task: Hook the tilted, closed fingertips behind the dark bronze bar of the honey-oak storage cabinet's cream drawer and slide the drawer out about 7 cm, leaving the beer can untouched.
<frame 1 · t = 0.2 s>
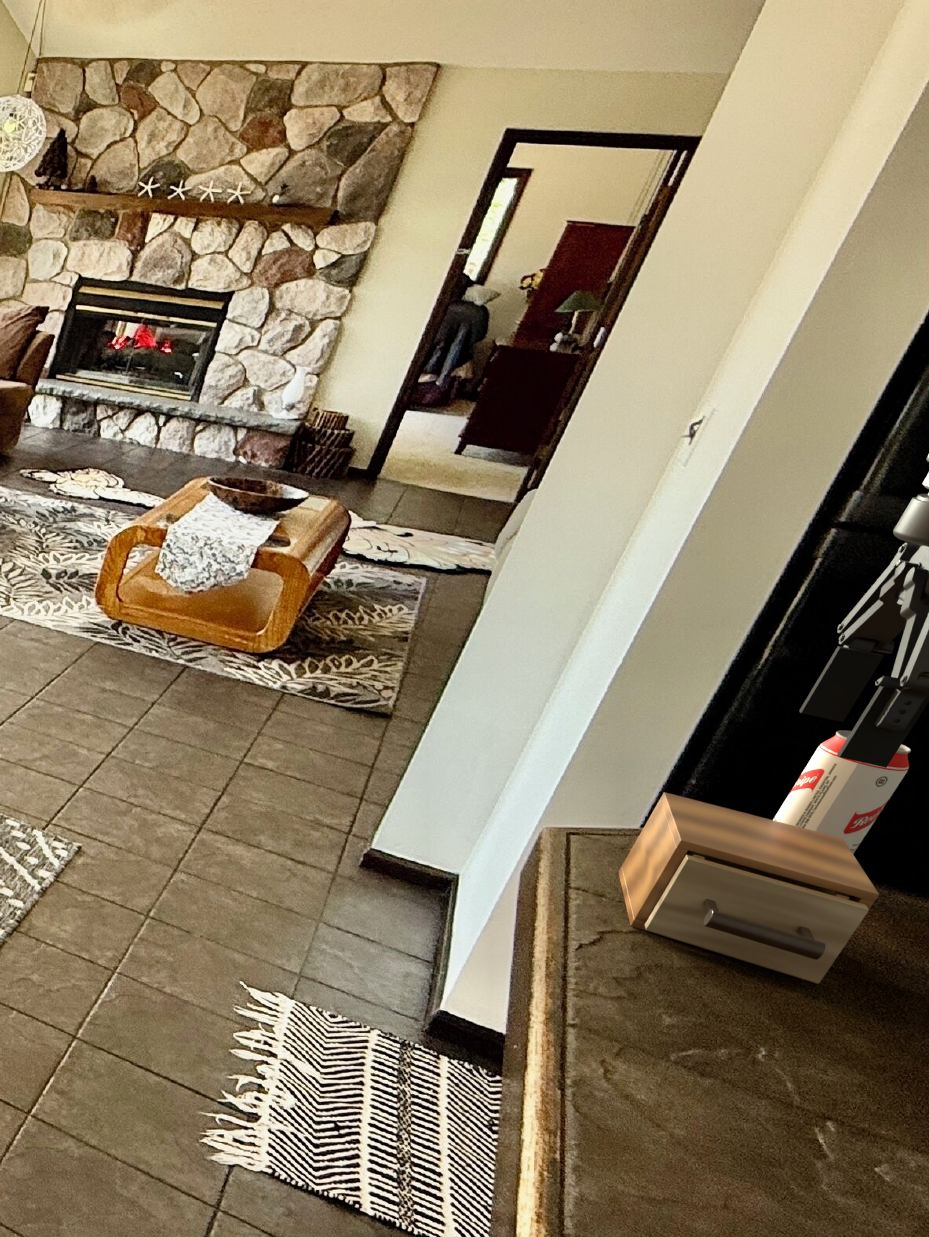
hand: (839, 738, 103), 21 cm above the countertop, tool pointing down, fingers open, 13 cm apart
beer can: (786, 876, 126), on the countertop
drawer: (744, 902, 109), point 5 cm above the countertop, slide at 1.0 cm
cabinet: (710, 924, 114), on the countertop
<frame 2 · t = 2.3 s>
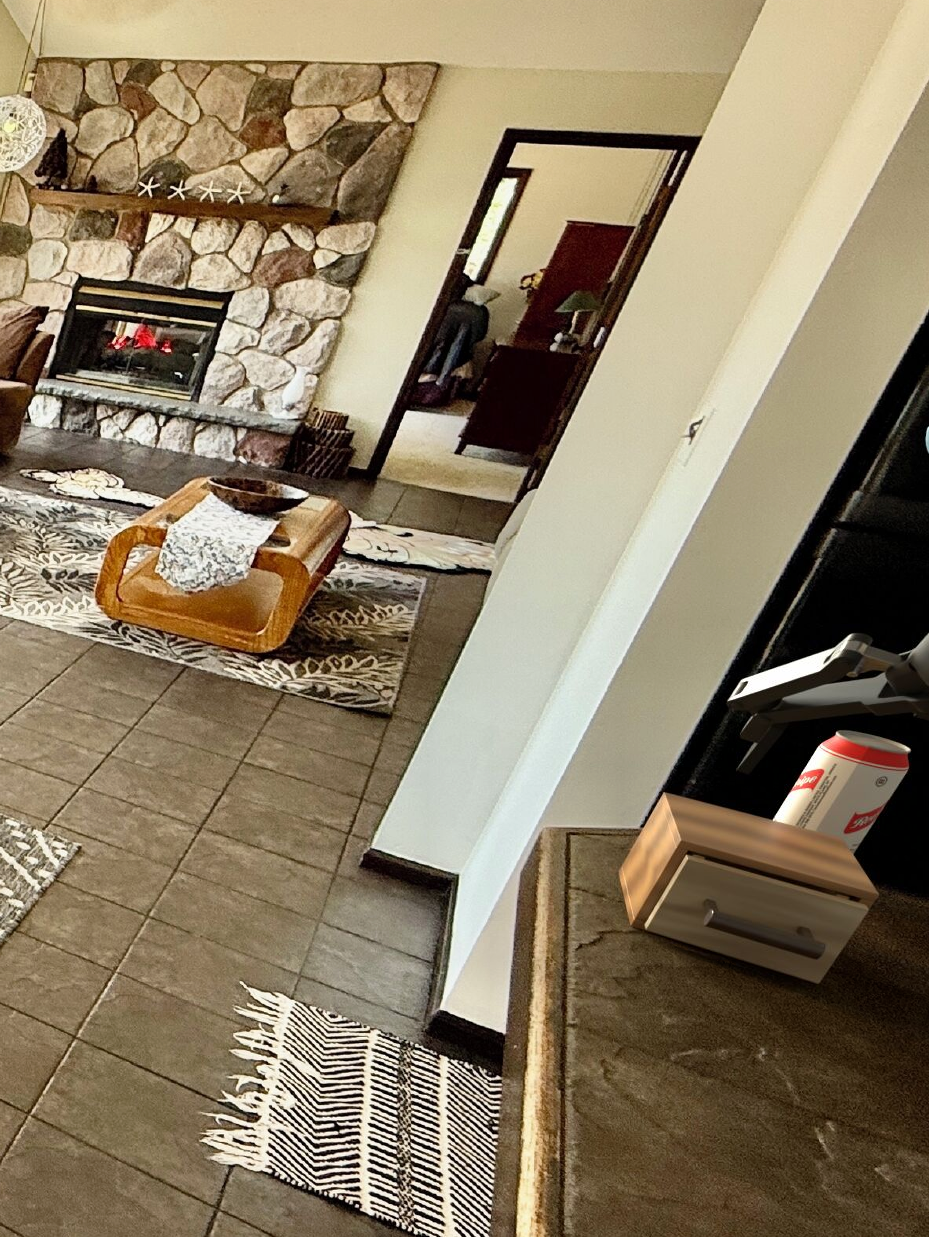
hand: (868, 798, 92), 21 cm above the countertop, tool tilted 40°, fingers open, 13 cm apart
nothing on the countertop moved.
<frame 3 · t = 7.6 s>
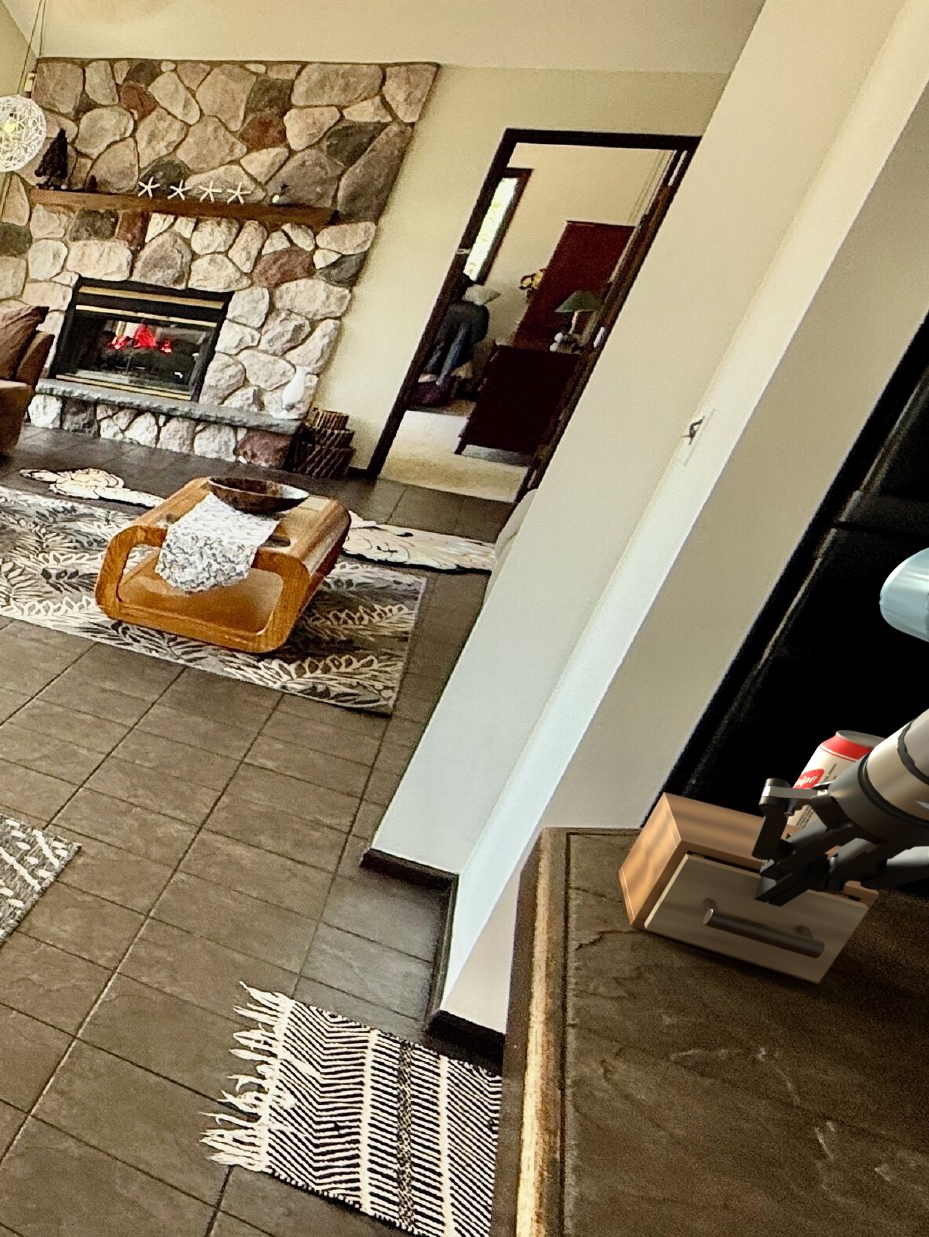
hand: (771, 890, 104), 8 cm above the countertop, tool tilted 45°, fingers closed
drawer: (744, 901, 109), point 5 cm above the countertop, slide at 0.8 cm, touching gripper
everything else where it was.
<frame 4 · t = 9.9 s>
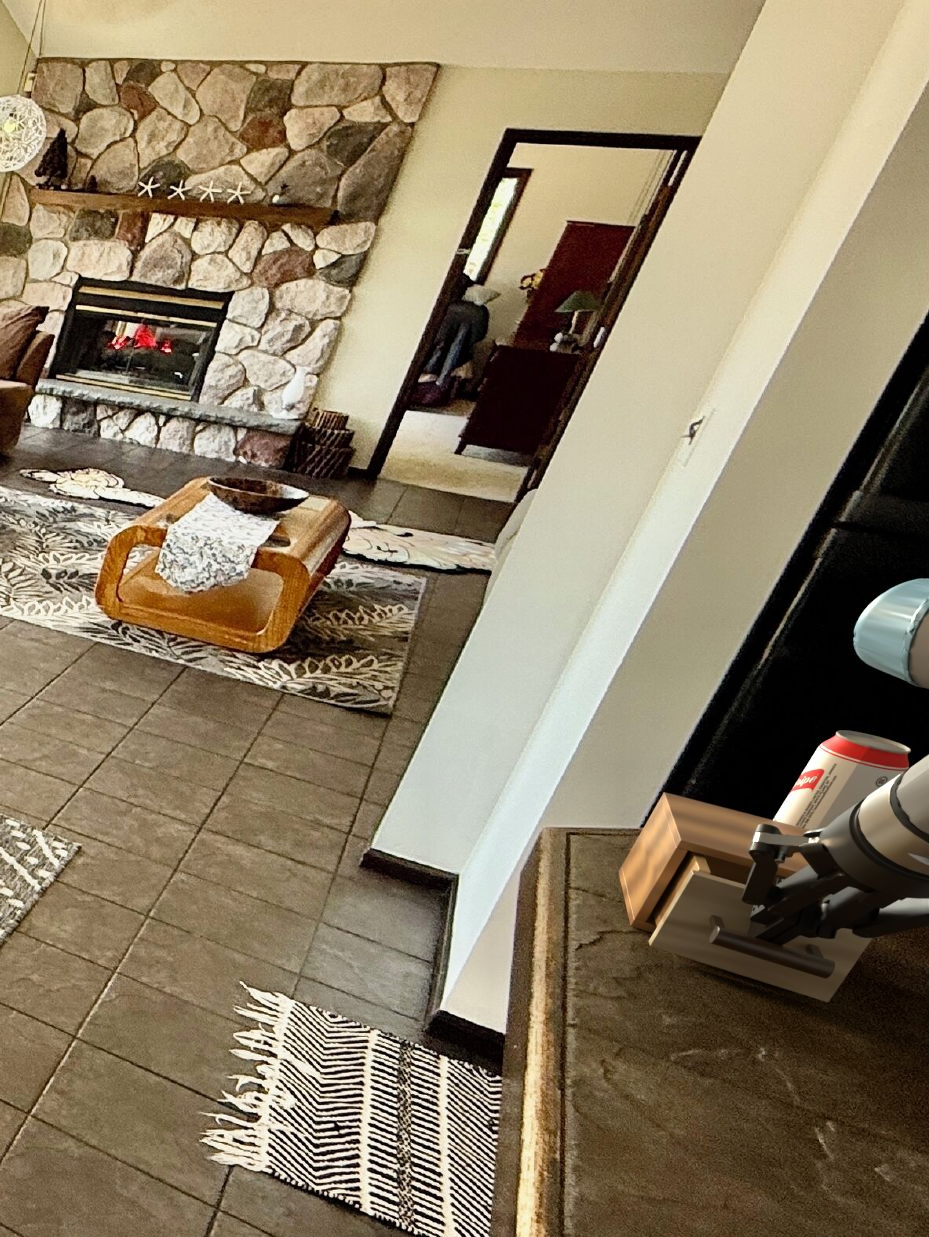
hand: (761, 934, 102), 6 cm above the countertop, tool tilted 45°, fingers closed
drawer: (751, 918, 106), point 5 cm above the countertop, slide at 4.9 cm, touching gripper
everything else where it was.
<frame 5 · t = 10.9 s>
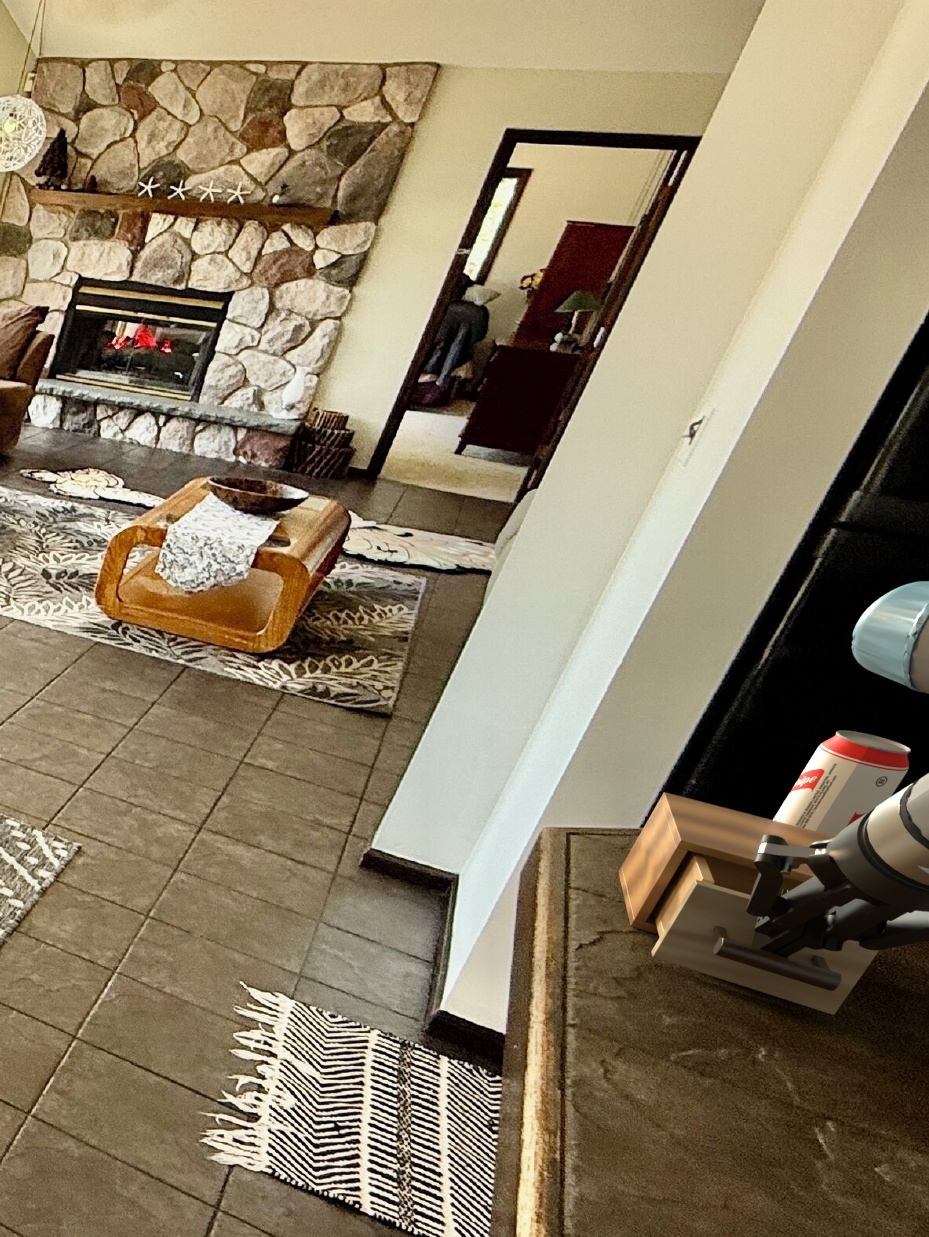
hand: (766, 945, 100), 6 cm above the countertop, tool tilted 45°, fingers closed
drawer: (756, 929, 104), point 5 cm above the countertop, slide at 7.3 cm, touching gripper
everything else where it was.
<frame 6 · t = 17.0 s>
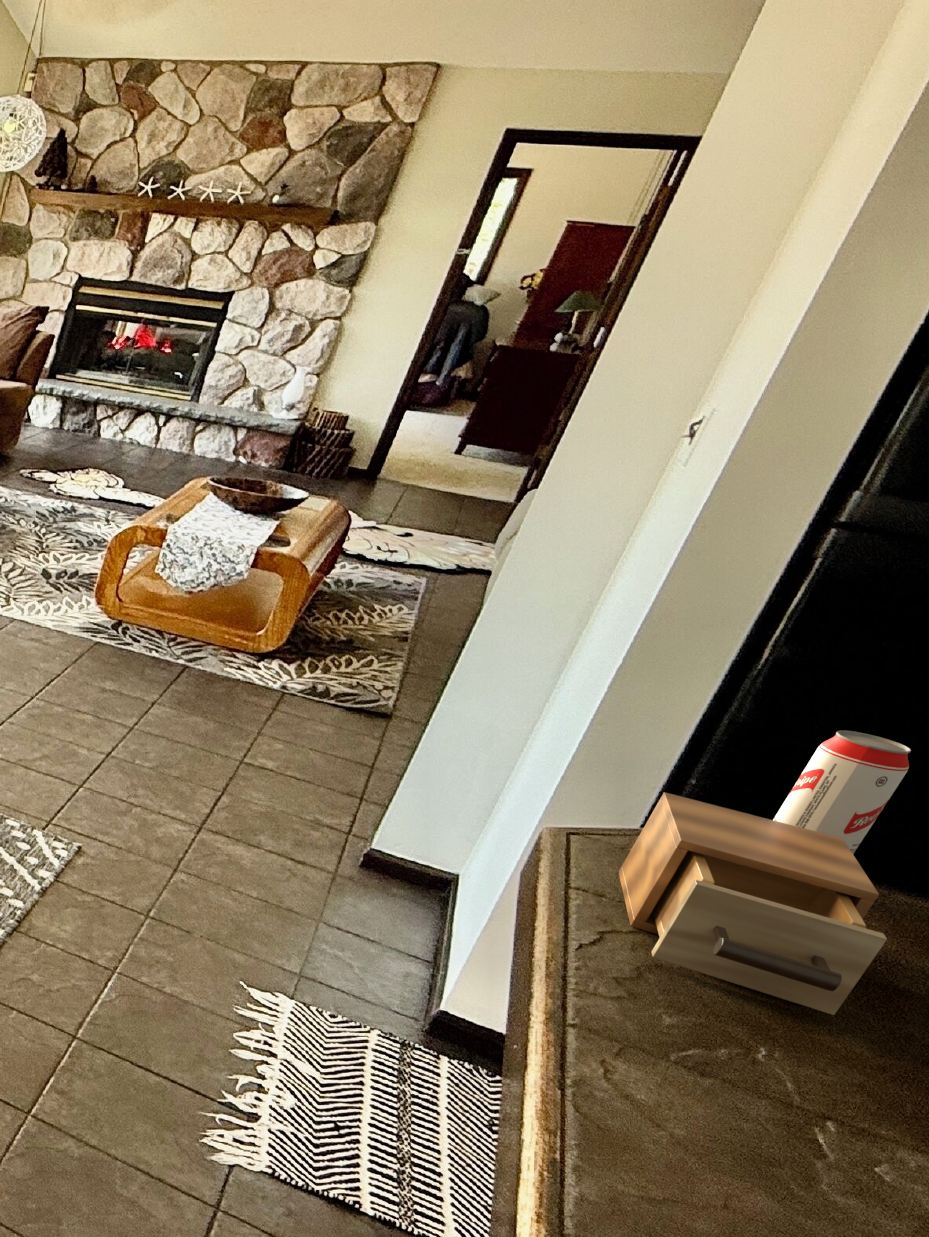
drawer: (756, 929, 104), point 5 cm above the countertop, slide at 7.4 cm
everything else where it was.
at the end: drawer slide at 7.4 cm; beer can moved 0.2 cm from its start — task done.
